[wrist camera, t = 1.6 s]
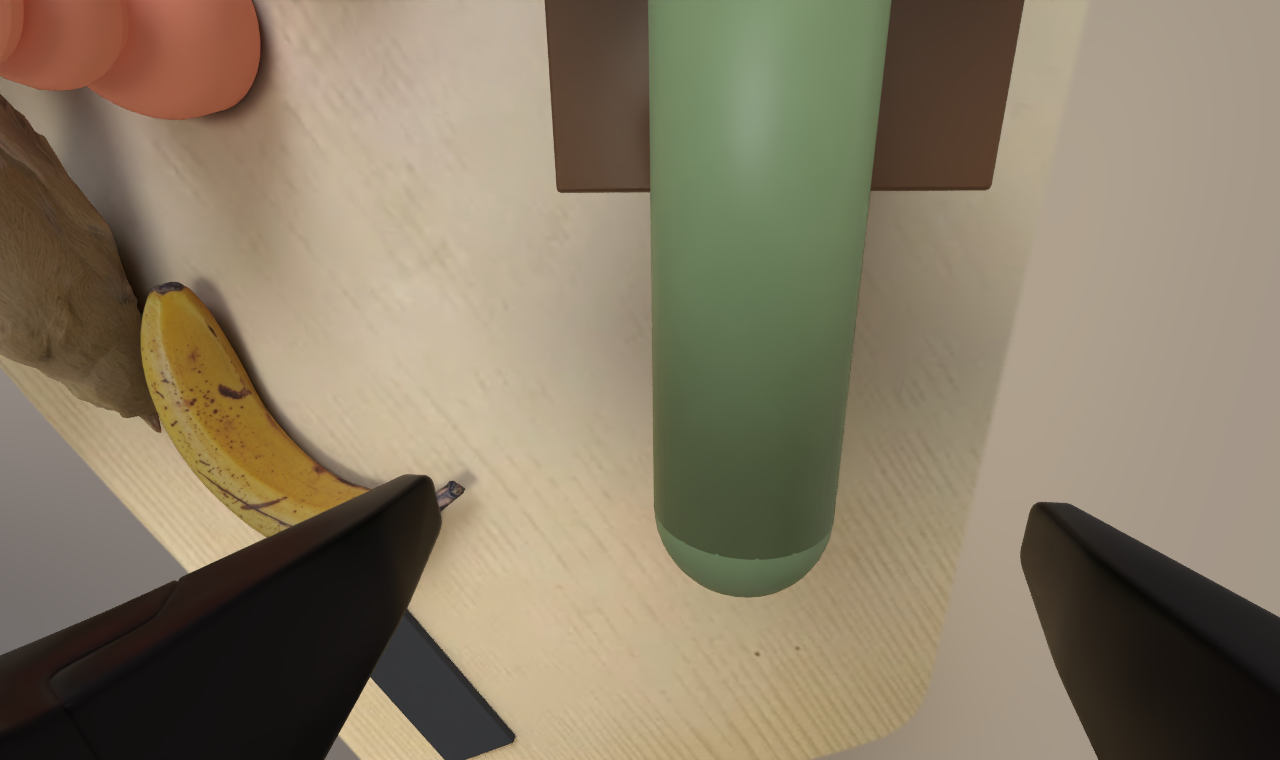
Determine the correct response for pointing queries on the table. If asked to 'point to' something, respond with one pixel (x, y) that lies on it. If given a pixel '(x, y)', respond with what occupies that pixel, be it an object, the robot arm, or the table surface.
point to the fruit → (231, 420)
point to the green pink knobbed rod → (756, 273)
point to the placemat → (437, 695)
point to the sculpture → (64, 280)
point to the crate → (909, 106)
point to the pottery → (135, 51)
